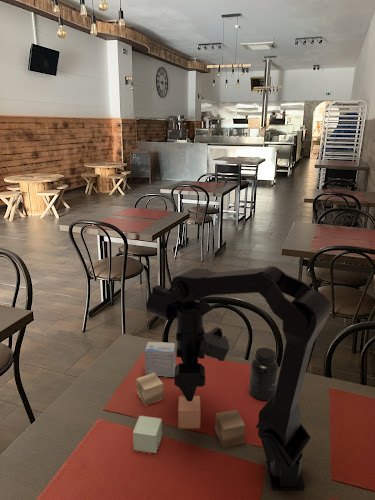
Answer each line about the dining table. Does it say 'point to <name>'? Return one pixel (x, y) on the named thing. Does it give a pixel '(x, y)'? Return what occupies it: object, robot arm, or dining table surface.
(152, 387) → the maple block
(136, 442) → the sage painted block
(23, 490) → the dining table surface
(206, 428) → the dining table surface
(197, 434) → the dining table surface
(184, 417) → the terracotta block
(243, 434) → the walnut block
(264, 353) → the supplement bottle
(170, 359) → the medicine box
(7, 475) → the dining table surface
